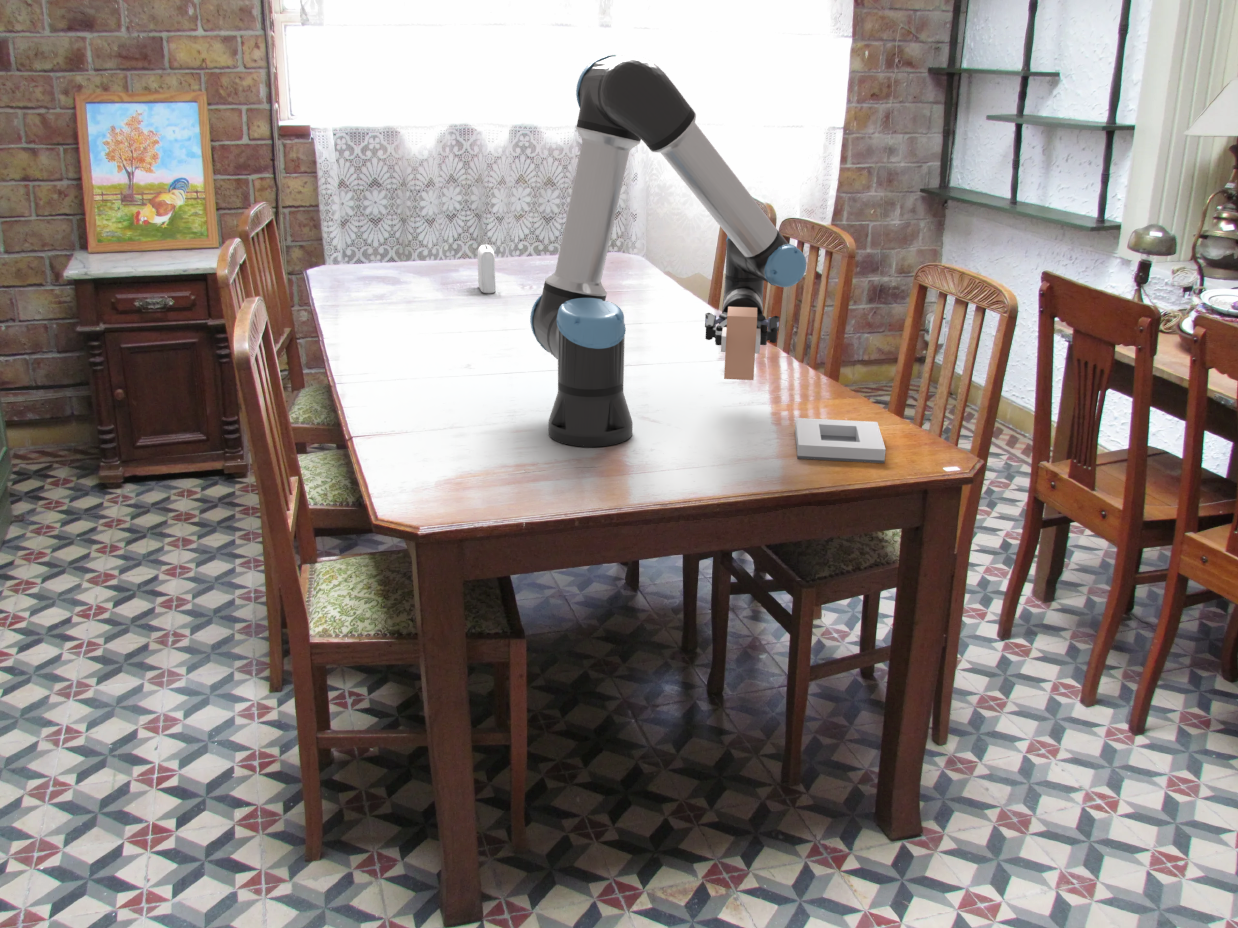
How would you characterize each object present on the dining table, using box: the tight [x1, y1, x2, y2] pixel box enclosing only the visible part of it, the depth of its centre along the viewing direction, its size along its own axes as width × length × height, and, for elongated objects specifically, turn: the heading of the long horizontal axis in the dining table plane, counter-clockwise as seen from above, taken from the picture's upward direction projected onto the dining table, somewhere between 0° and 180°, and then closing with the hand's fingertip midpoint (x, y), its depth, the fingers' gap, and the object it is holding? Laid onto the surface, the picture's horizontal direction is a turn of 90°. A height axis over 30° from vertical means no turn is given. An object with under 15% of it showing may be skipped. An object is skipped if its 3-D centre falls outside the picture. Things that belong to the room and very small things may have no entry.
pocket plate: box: [794, 417, 887, 464], centre depth 200 cm, size 15×15×2 cm
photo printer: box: [476, 244, 496, 294], centre depth 314 cm, size 10×4×12 cm, turn 13°
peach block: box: [723, 307, 757, 381], centre depth 196 cm, size 5×7×11 cm
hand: (740, 345), depth 191 cm, fingers closed on peach block, 5 cm apart
